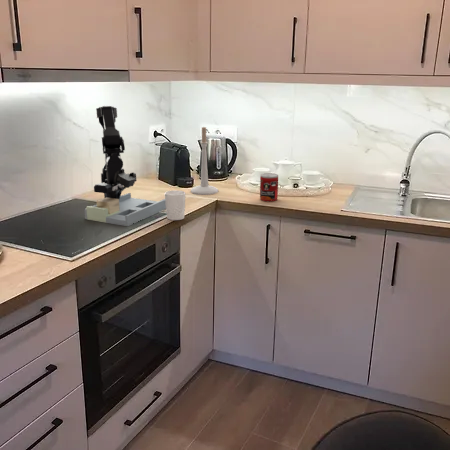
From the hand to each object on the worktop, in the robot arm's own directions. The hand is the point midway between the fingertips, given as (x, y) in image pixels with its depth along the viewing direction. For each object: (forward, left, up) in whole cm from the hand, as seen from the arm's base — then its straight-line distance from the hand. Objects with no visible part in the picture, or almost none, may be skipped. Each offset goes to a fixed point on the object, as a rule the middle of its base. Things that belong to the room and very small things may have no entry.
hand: (116, 205), depth 202 cm
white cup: (+24, +5, -3) cm, 25 cm away
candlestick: (+14, +47, -3) cm, 49 cm away
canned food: (+46, +47, -3) cm, 66 cm away
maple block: (0, -5, -1) cm, 5 cm away
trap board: (+4, +2, -3) cm, 6 cm away
